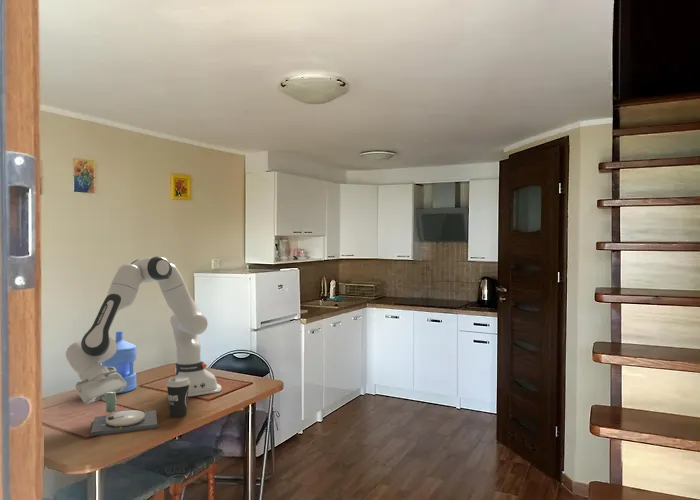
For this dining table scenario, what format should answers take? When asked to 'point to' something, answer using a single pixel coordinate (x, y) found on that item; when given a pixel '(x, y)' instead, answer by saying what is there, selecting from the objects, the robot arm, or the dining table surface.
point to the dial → (121, 413)
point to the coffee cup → (178, 396)
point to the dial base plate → (103, 428)
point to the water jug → (124, 362)
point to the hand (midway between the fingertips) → (114, 403)
